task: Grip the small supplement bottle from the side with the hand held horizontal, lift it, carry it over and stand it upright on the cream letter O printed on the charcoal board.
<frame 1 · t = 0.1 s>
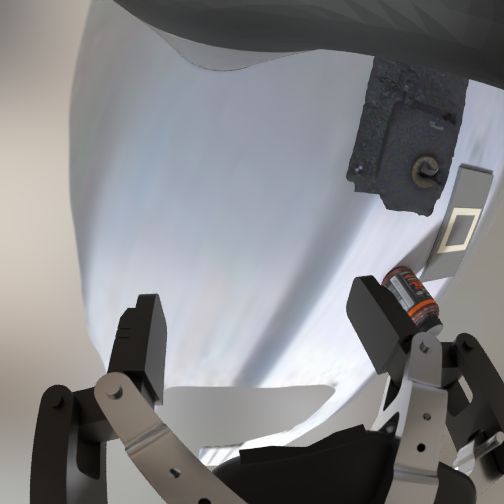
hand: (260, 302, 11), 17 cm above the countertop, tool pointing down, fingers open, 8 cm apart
supplement bottle: (394, 279, 38), on the countertop
black pouch: (414, 116, 24), on the countertop
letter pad: (458, 228, 34), on the countertop
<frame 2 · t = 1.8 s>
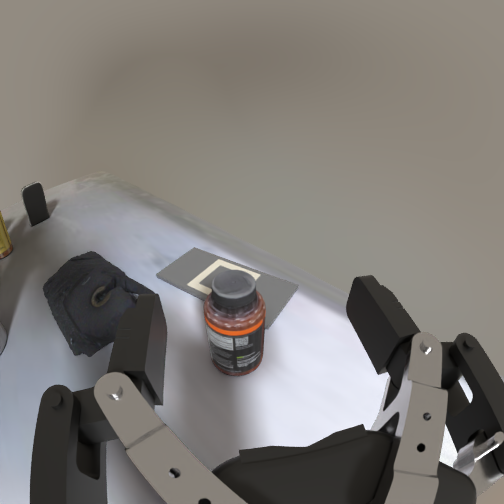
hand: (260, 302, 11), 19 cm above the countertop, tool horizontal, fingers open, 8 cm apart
supplement bottle: (236, 358, 31), on the countertop
black pouch: (94, 300, 38), on the countertop
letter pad: (224, 283, 42), on the countertop
battery charger: (39, 221, 61), on the countertop
sauce bottle: (4, 254, 47), on the countertop
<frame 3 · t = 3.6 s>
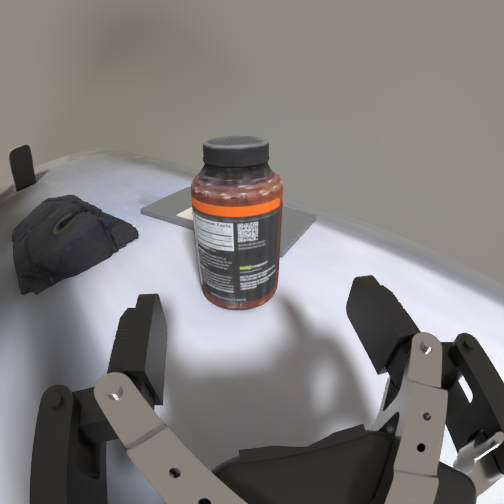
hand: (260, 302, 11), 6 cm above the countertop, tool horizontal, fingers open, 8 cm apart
supplement bottle: (239, 289, 22), on the countertop
black pouch: (62, 241, 29), on the countertop
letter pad: (223, 215, 33), on the countertop
battery charger: (25, 187, 53), on the countertop
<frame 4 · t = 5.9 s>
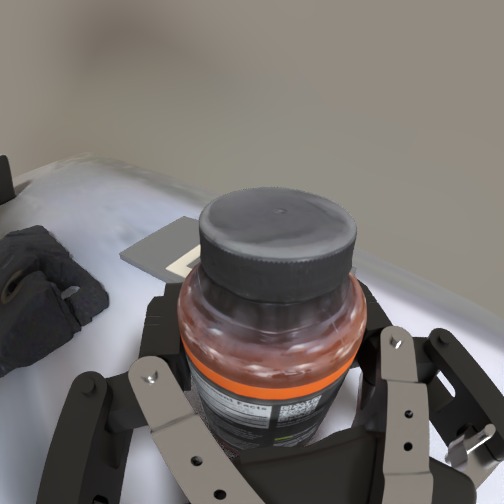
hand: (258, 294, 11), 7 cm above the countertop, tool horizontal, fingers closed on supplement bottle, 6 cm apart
supplement bottle: (262, 415, 13), on the countertop, touching gripper
black pouch: (23, 295, 20), on the countertop
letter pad: (230, 266, 24), on the countertop
battery charger: (4, 202, 44), on the countertop
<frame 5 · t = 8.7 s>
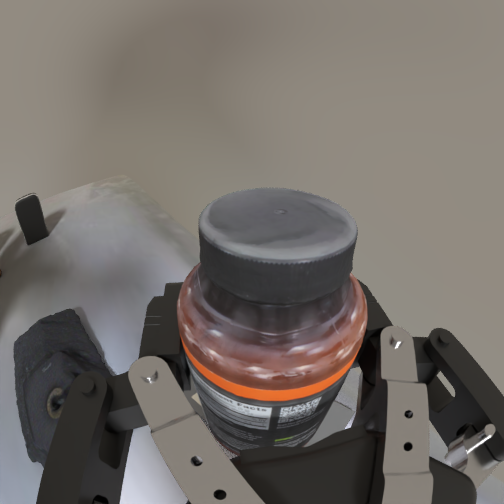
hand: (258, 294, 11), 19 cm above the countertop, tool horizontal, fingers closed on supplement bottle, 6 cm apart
supplement bottle: (262, 415, 13), point 12 cm above the countertop, touching gripper
black pouch: (62, 385, 24), on the countertop
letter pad: (247, 398, 25), on the countertop
battery charger: (37, 239, 53), on the countertop
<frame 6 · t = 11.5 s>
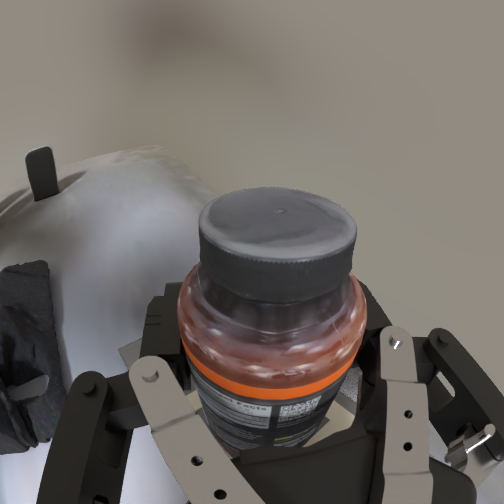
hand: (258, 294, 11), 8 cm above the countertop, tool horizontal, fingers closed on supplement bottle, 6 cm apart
supplement bottle: (262, 415, 13), point 2 cm above the countertop, touching gripper
black pouch: (6, 352, 16), on the countertop
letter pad: (261, 423, 14), on the countertop
battery charger: (47, 196, 48), on the countertop
when the fingers open (8 cm above the countertop, at t = 11.7 s): supplement bottle drops 1 cm, resting on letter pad.
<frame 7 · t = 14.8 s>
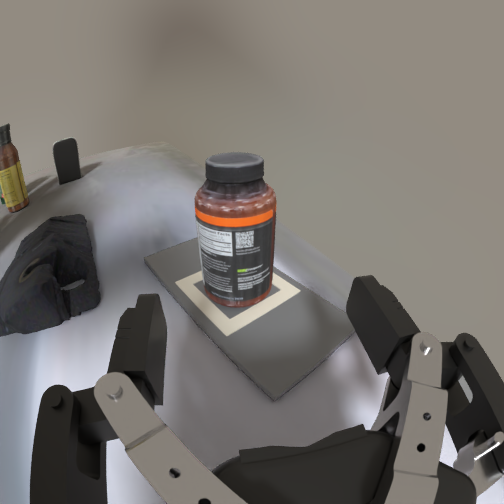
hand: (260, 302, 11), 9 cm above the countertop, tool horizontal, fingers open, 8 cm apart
supplement bottle: (237, 289, 24), resting on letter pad
black pouch: (48, 274, 27), on the countertop
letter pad: (236, 292, 25), on the countertop
battery charger: (70, 180, 59), on the countertop
sauce bottle: (18, 208, 45), on the countertop
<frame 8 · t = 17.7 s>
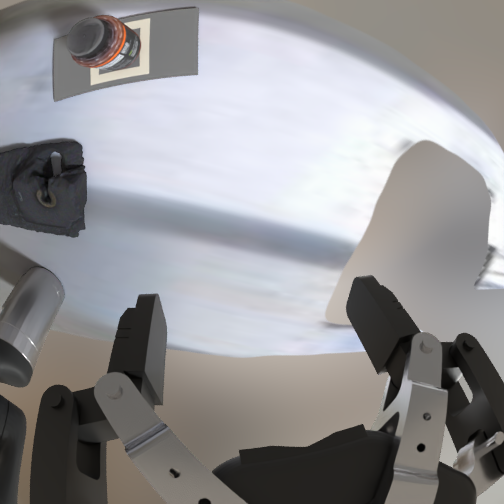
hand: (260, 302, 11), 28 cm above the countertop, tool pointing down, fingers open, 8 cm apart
supplement bottle: (120, 50, 24), resting on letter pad
black pouch: (32, 186, 32), on the countertop
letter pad: (120, 51, 24), on the countertop
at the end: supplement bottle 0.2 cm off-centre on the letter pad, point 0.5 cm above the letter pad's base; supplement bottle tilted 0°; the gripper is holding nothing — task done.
